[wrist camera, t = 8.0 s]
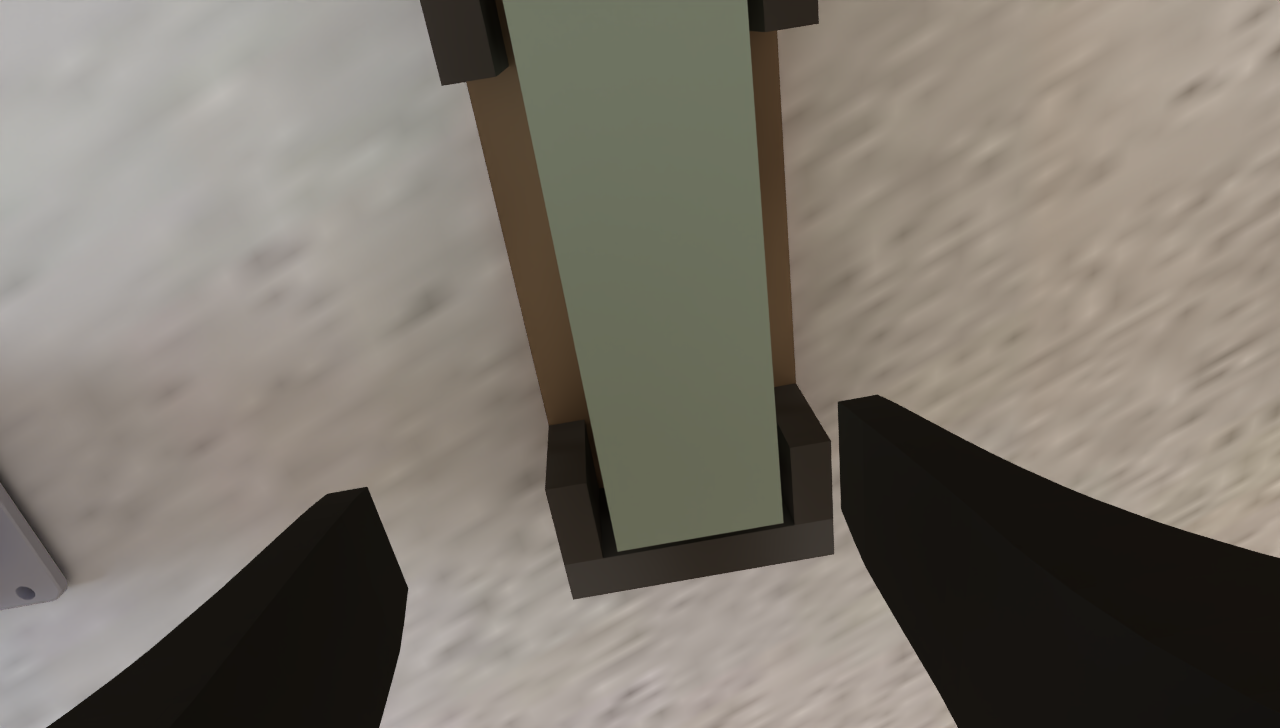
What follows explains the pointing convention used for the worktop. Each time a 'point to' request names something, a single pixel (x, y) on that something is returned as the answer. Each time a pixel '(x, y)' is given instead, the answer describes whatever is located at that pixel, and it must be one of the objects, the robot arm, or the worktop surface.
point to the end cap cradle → (483, 58)
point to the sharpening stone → (659, 252)
